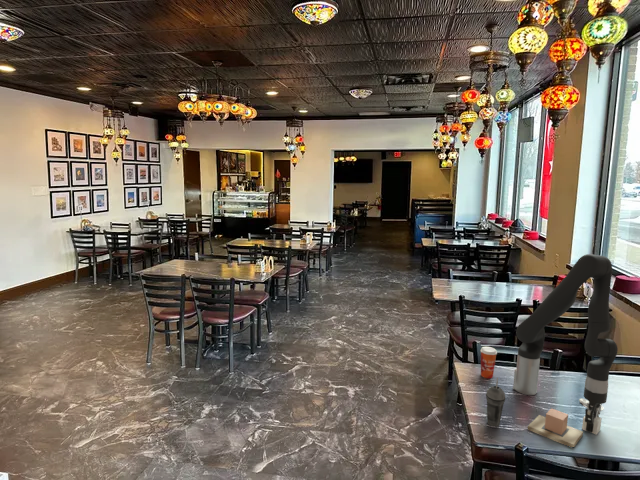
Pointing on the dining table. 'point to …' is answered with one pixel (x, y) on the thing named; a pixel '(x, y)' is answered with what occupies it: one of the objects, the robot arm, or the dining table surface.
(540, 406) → the dining table surface
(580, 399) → the teacup and saucer
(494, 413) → the beverage cup
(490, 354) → the paper cup
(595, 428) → the white cube
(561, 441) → the beige rectangular frame
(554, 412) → the terracotta cube
